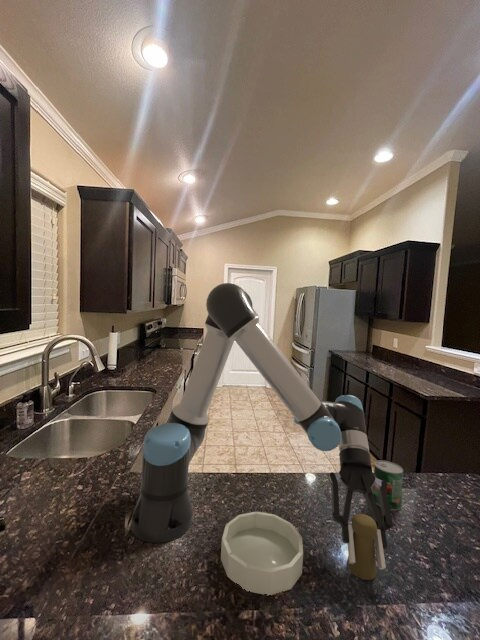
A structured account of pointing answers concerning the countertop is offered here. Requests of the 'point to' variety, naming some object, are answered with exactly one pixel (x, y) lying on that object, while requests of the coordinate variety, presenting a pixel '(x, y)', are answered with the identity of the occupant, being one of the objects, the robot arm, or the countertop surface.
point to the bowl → (262, 553)
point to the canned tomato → (389, 482)
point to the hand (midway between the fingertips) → (367, 565)
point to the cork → (363, 547)
